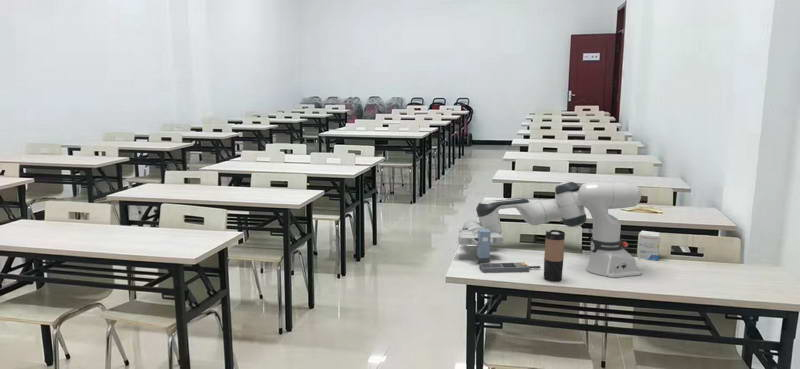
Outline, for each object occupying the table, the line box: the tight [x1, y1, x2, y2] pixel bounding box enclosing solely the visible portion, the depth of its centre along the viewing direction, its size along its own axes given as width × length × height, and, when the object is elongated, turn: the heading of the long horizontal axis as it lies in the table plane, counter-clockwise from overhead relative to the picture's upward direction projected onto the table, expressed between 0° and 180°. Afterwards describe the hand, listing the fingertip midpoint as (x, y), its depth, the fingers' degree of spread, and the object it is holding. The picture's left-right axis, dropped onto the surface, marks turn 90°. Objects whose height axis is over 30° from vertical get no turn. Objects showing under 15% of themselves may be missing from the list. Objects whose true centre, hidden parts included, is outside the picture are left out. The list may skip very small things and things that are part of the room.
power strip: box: [478, 261, 541, 274], centre depth 255 cm, size 26×7×2 cm, turn 96°
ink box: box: [638, 230, 661, 261], centre depth 274 cm, size 9×8×12 cm
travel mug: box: [543, 229, 566, 283], centre depth 242 cm, size 8×8×20 cm
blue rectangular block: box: [476, 229, 491, 263], centre depth 261 cm, size 5×5×14 cm
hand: (484, 243), depth 260 cm, fingers open, 5 cm apart
